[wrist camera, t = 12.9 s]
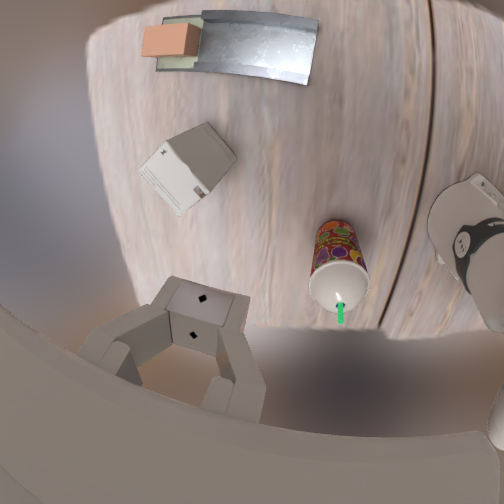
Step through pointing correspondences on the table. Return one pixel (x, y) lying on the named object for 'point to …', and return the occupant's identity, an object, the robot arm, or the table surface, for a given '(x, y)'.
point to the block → (171, 40)
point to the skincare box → (188, 167)
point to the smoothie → (338, 270)
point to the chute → (248, 45)
